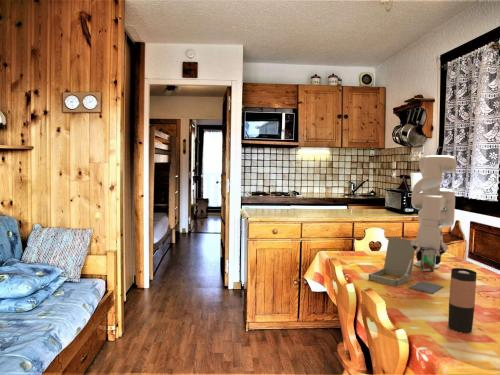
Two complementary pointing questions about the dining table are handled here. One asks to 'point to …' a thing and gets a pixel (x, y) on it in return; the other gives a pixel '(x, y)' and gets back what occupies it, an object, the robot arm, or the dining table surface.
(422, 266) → the food container
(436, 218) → the robot arm
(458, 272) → the travel mug
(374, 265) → the dining table surface
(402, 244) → the case
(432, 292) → the mat
